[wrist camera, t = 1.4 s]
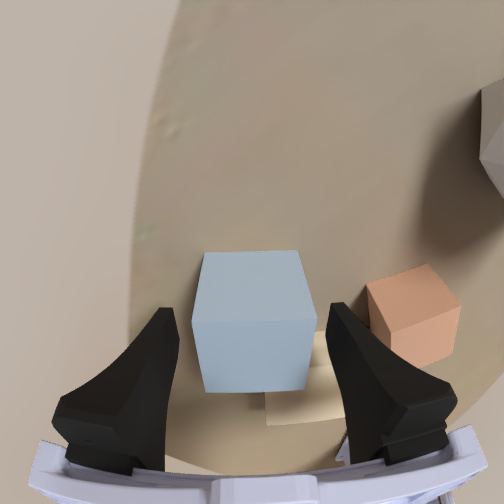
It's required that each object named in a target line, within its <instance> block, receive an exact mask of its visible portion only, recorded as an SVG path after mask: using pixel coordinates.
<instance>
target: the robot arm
mask: <svg viewBox="0 0 504 504" xmlns="http://www.w3.org/2000/svg"><path fill="white" fill-rule="evenodd" d="M325 337H326V343H327V349H328V354H329V357H330V360H331V364H332V367H333V370H334V373H335V376H336V380H337V383H338V386H339V389H340V393H341V397H342V401H343V407H344V413H345V419H346V426H347V434H348V435H347V437H346V439H345V441H344V443H343V445H342V446H341V448H340V450H339V452H338V454H337V455H336V457H335V461H344V465H345V466H342V467H336V468H329V469H322V470H315V471H306V472H297V473H286V474H272V475H247V476H220V475H219V476H217V475H193V474H181V473H170V472H165V433H166V418H167V407H168V400H169V395H170V390H171V386H172V381H173V377H174V373H175V368H176V364H177V359H178V351H179V340H180V339H179V334H178V330H177V326H176V321H175V317H174V312H173V308H161V307H160V308H159V309H158V310H157V311H156V313H155V314H154V315H153V317H152V318H151V319H150V321H149V322H148V323H147V325H146V326H145V327H144V329H143V330H142V331H141V332H140V334H139V335H138V336H137V337H136V339H135V340H134V341H133V342H132V343H131V344H130V345H129V346H128V348H127V349H126V350H125V351H124V352H123V353H122V354H121V355H120V356H119V357H118V358H117V359H116V360H115V361H114V362H113V363H112V364H111V365H110V366H108V367H107V368H106V369H105V370H103V371H102V372H101V373H99V374H98V375H97V376H96V377H94V378H93V379H91V380H90V381H88V382H87V383H85V384H84V385H82V386H81V387H79V388H77V389H75V390H74V391H72V392H70V393H68V394H66V395H64V396H62V397H61V398H60V400H59V403H58V405H57V407H56V410H55V413H54V416H53V419H52V424H53V427H54V428H55V429H56V430H57V431H58V433H59V434H60V435H61V436H62V437H63V438H64V439H65V440H66V441H67V442H68V443H69V444H68V447H67V449H66V448H65V447H63V446H60V445H57V444H54V443H51V442H47V441H44V440H41V441H40V444H39V447H38V450H37V453H36V457H35V459H34V463H33V466H32V469H31V472H30V476H29V479H28V485H29V486H31V487H32V488H34V489H35V490H37V491H38V492H40V493H41V494H43V495H45V496H46V497H48V498H50V499H51V500H53V501H55V502H57V503H59V504H455V502H454V499H453V495H452V493H451V490H454V489H456V488H458V487H460V486H461V485H463V484H465V483H466V482H467V481H469V480H470V479H472V478H473V477H475V476H476V475H477V474H479V473H480V472H481V471H483V470H484V469H485V468H486V467H487V466H488V464H487V461H486V458H485V456H484V453H483V451H482V448H481V446H480V444H479V441H478V439H477V437H476V434H475V432H474V430H473V427H472V425H470V424H469V425H467V426H464V427H461V428H459V429H456V430H454V431H451V432H450V433H448V434H446V432H445V429H446V428H447V424H446V422H445V419H446V418H447V417H448V416H449V415H450V413H451V412H452V411H453V410H454V408H455V407H456V405H457V401H458V400H457V397H456V395H455V393H454V391H453V389H452V387H451V385H450V383H448V382H446V381H443V380H441V379H438V378H436V377H434V376H432V375H430V374H428V373H426V372H424V371H422V370H420V369H418V368H417V367H415V366H413V365H412V364H410V363H409V362H407V361H405V360H404V359H402V358H401V357H400V356H398V355H397V354H396V353H394V352H393V351H392V350H390V349H389V348H388V347H387V346H386V345H384V344H383V343H382V342H381V341H380V340H379V339H378V338H377V337H376V336H375V335H374V334H373V333H372V332H371V331H370V330H369V329H368V328H367V327H366V326H365V325H364V324H363V323H362V322H361V321H360V320H359V319H358V318H357V317H356V315H355V314H354V313H353V312H352V311H351V310H350V309H349V308H348V306H347V305H346V304H345V303H344V302H339V303H331V306H330V311H329V317H328V322H327V327H326V332H325Z"/></svg>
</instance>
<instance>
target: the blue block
mask: <svg viewBox="0 0 504 504" xmlns="http://www.w3.org/2000/svg"><path fill="white" fill-rule="evenodd" d="M316 323H317V316H316V312H315V309H314V305H313V302H312V298H311V295H310V291H309V288H308V285H307V281H306V278H305V274H304V271H303V268H302V264H301V261H300V258H299V255H298V251H297V250H292V251H252V252H211V253H204V258H203V263H202V268H201V273H200V278H199V284H198V289H197V294H196V300H195V305H194V310H193V316H192V328H193V333H194V338H195V344H196V349H197V354H198V359H199V364H200V368H201V373H202V378H203V383H204V387H205V392H206V393H253V392H277V391H293V390H305V385H306V380H307V374H308V369H309V364H310V358H311V353H312V347H313V341H314V335H315V329H316Z"/></svg>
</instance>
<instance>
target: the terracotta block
mask: <svg viewBox="0 0 504 504" xmlns="http://www.w3.org/2000/svg"><path fill="white" fill-rule="evenodd" d="M366 288H367V297H368V306H369V317H370V328H371V332H372V333H373V334H374V335H375V336H376V337H377V338H378V339H379V340H380V341H381V342H382V343H383V344H384V345H386V346H387V347H388V348H389V349H390V350H392V351H393V352H394V353H396V354H397V355H398V356H400V357H401V358H402V359H404V360H405V361H407V362H409V363H410V364H412V365H413V366H415V367H417V368H418V369H419V368H421V367H424V366H426V365H429V364H431V363H434V362H436V361H438V360H441V359H443V358H445V357H447V356H450V355H451V354H452V350H453V346H454V341H455V337H456V332H457V327H458V322H459V316H460V310H461V304H460V303H459V302H458V300H457V299H456V298H455V296H454V295H453V294H452V293H451V291H450V290H449V289H448V287H447V286H446V285H445V284H444V282H443V281H442V280H441V279H440V277H439V276H438V275H437V274H436V273H435V271H434V270H433V269H432V268H431V267H430V265H429V264H428V263H427V264H424V265H421V266H418V267H416V268H413V269H410V270H407V271H404V272H401V273H398V274H395V275H392V276H389V277H386V278H383V279H380V280H377V281H374V282H371V283H368V284H366Z"/></svg>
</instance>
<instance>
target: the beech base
mask: <svg viewBox="0 0 504 504" xmlns="http://www.w3.org/2000/svg"><path fill="white" fill-rule="evenodd" d="M325 332H326V331H319V332H315V335H314V341H313V347H312V353H311V358H310V364H309V369H308V374H307V380H306V385H305V390H293V391H277V392H265V407H266V424H267V426H271V425H284V424H295V423H305V422H314V421H322V420H329V419H336V418H342V417H345V413H344V407H343V401H342V397H341V393H340V389H339V386H338V383H337V380H336V376H335V373H334V370H333V367H332V364H331V360H330V357H329V354H328V349H327V343H326V337H325Z"/></svg>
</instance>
